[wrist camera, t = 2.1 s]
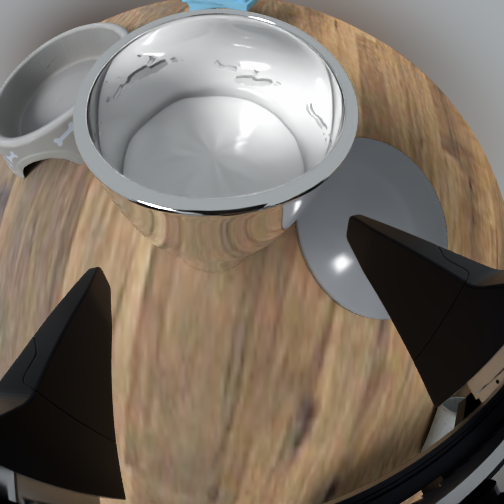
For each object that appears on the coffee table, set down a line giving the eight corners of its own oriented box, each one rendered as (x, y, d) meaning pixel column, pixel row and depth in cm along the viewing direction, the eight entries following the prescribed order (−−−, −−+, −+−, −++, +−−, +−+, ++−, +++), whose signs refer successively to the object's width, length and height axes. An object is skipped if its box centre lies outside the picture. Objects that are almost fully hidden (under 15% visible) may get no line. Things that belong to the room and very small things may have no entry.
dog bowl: (31, 74, 20) (15, 50, 14) (159, 37, 22) (155, 3, 17) (-8, 192, 17) (-39, 174, 12) (143, 157, 20) (127, 120, 15)
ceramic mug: (401, 465, 18) (444, 494, 11) (426, 401, 20) (479, 421, 12) (456, 445, 20) (494, 462, 12) (475, 389, 21) (520, 399, 14)
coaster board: (456, 224, 23) (462, 222, 22) (391, 354, 20) (398, 356, 19) (355, 115, 23) (359, 110, 22) (251, 228, 20) (253, 225, 19)
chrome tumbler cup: (168, 185, 20) (113, 14, 5) (259, 186, 21) (335, 21, 6) (163, 278, 19) (31, 231, 4) (261, 279, 19) (393, 234, 5)
